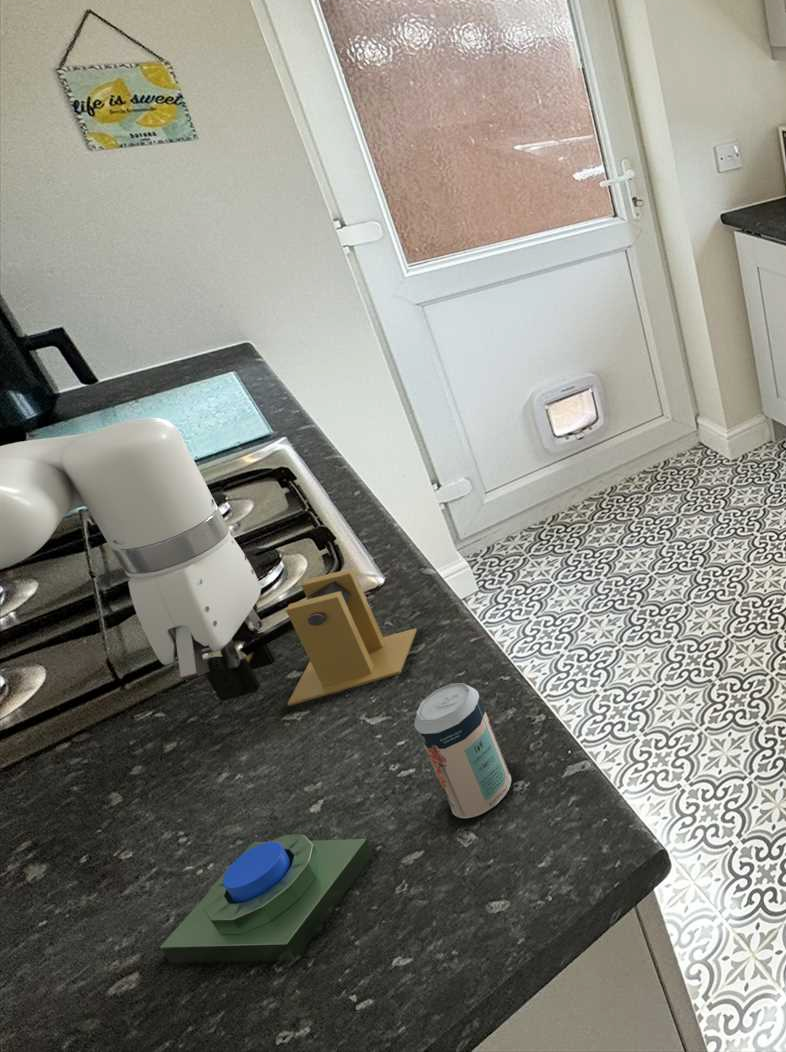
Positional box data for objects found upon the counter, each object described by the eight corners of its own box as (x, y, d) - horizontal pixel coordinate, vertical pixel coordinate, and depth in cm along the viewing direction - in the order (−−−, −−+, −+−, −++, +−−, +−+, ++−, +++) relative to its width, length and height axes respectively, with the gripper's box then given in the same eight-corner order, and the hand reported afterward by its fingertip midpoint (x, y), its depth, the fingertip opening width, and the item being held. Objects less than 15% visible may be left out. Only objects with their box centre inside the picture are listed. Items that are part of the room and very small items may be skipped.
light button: (218, 903, 61) (209, 888, 60) (259, 856, 64) (251, 841, 64) (263, 902, 61) (254, 887, 60) (302, 854, 64) (294, 840, 64)
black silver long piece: (222, 686, 81) (195, 669, 79) (236, 664, 83) (210, 647, 82) (346, 612, 83) (322, 594, 82) (355, 593, 86) (333, 575, 84)
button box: (171, 965, 60) (148, 932, 59) (262, 859, 68) (244, 827, 66) (297, 961, 60) (277, 929, 59) (375, 855, 68) (359, 824, 66)
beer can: (462, 782, 74) (422, 687, 69) (518, 766, 75) (482, 672, 71) (445, 829, 69) (401, 732, 65) (505, 812, 71) (466, 715, 66)
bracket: (291, 712, 82) (246, 625, 78) (315, 664, 88) (276, 581, 84) (403, 679, 86) (366, 594, 81) (419, 635, 92) (386, 554, 88)
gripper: (169, 504, 82) (241, 638, 89) (68, 607, 68) (162, 757, 75) (258, 485, 85) (321, 617, 91) (178, 581, 70) (260, 728, 77)
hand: (249, 678), depth 83 cm, fingers closed on black silver long piece, 3 cm apart
